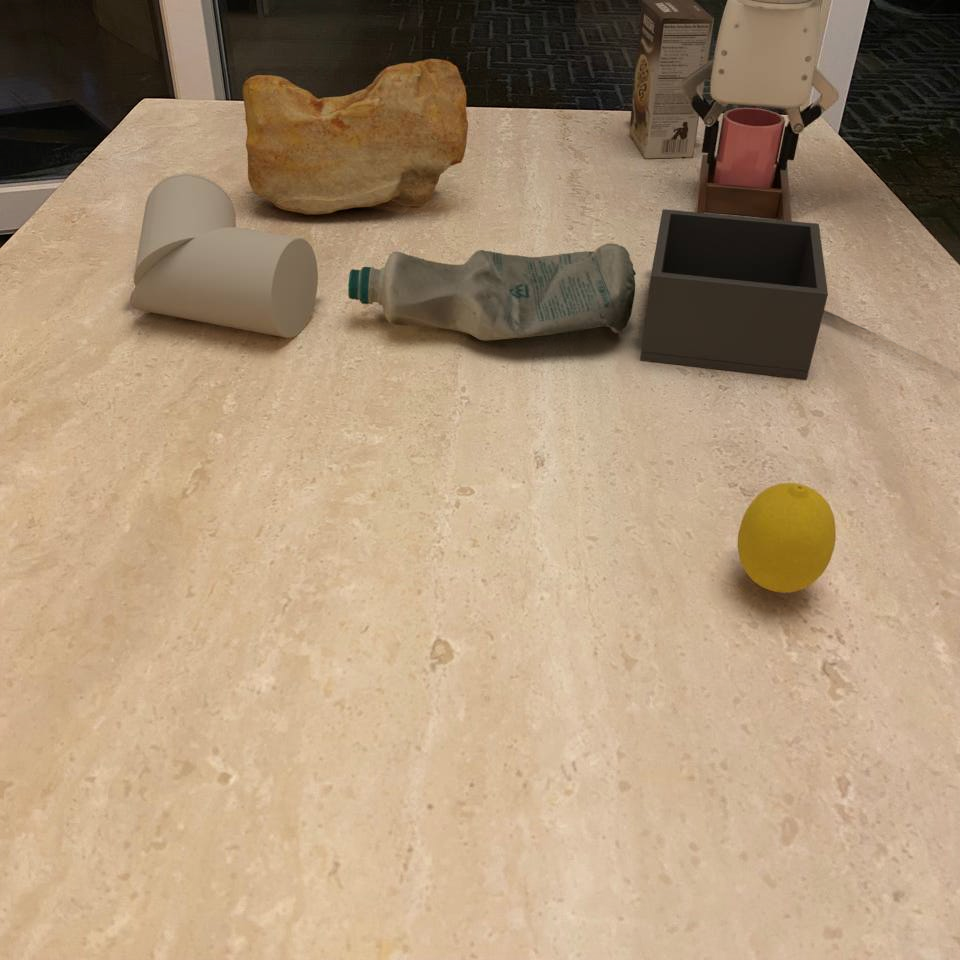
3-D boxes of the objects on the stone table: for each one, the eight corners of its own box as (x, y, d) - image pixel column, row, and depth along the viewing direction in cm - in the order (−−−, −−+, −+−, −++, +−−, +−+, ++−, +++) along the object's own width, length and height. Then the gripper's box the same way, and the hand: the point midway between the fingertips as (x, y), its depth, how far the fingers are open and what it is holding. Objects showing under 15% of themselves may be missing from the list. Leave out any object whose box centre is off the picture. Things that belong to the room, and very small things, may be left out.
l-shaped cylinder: (56, 314, 86) (263, 354, 81) (43, 189, 82) (261, 223, 77) (175, 271, 102) (354, 303, 97) (169, 164, 97) (357, 191, 92)
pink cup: (736, 183, 115) (750, 104, 110) (780, 201, 111) (797, 119, 106) (698, 196, 112) (710, 115, 107) (742, 214, 108) (757, 131, 103)
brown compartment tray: (781, 187, 115) (787, 161, 113) (786, 253, 101) (792, 225, 99) (699, 179, 116) (702, 154, 114) (691, 243, 102) (696, 216, 100)
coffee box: (626, 134, 128) (640, -3, 118) (675, 132, 129) (693, -3, 119) (643, 159, 121) (659, 16, 111) (695, 158, 122) (715, 15, 112)
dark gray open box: (652, 287, 94) (662, 208, 90) (800, 303, 92) (818, 223, 88) (640, 360, 84) (650, 275, 79) (806, 379, 82) (828, 293, 77)
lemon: (721, 605, 61) (743, 503, 56) (736, 549, 65) (758, 450, 60) (813, 629, 60) (845, 527, 55) (823, 570, 64) (853, 470, 59)
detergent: (626, 288, 94) (360, 277, 94) (636, 219, 89) (356, 207, 89) (638, 372, 84) (341, 360, 84) (650, 299, 79) (336, 286, 79)
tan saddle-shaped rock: (468, 173, 119) (464, 38, 111) (471, 218, 105) (466, 67, 97) (273, 179, 119) (255, 44, 111) (249, 225, 105) (226, 74, 97)
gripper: (865, -18, 100) (825, 157, 111) (689, -28, 103) (667, 144, 114) (872, -1, 94) (829, 182, 105) (686, -12, 97) (663, 168, 108)
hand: (746, 161), depth 109 cm, fingers open, 7 cm apart
